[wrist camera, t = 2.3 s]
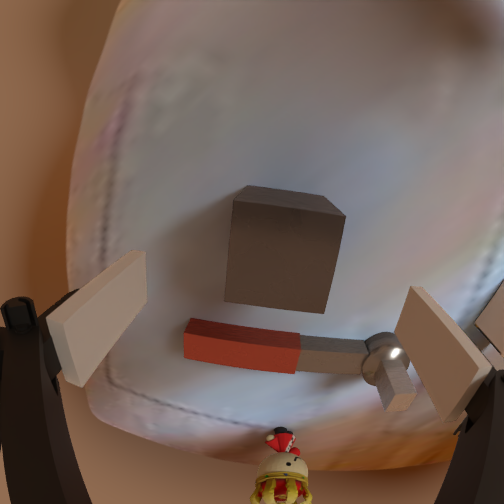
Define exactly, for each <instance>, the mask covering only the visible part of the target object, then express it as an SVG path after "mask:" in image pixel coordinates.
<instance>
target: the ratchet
mask: <svg viewBox="0 0 504 504" xmlns="http://www.w3.org/2000/svg"><path fill="white" fill-rule="evenodd" d="M184 358H187V359H192V360H197V361H203V362H208V363H214V364H220V365H226V366H232V367H239V368H246V369H253V370H261V371H269V372H278V373H288V374H295V371H305V372H318V373H336V374H360V373H361V371H362V374H363V377H364V380H365V381H366V382H367V383H368V384H370V385H373V386H376V387H377V390H378V393H379V396H380V399H381V402H382V405H383V408H384V411H385V412H392V411H404V410H407V408H408V407H409V405H410V404H411V402H412V401H413V399H414V398H415V396H416V394H417V392H416V389H415V387H414V385H413V383H412V381H411V379H410V377H409V375H408V373H407V371H406V370H407V369H408V367H409V363H410V359H409V357H408V355H407V354H406V352H405V350H404V348H403V347H402V345H401V343H400V341H399V340H398V338H397V336H396V335H395V334H394V333H391V332H382V333H378V334H375V335H373V336H371V337H370V338H368V339H367V340H366V341H365V342H364V340H354V339H340V338H327V337H316V336H305V335H300V333H292V332H284V331H275V330H267V329H259V328H252V327H245V326H238V325H231V324H225V323H218V322H212V321H206V320H200V319H195V318H191V319H190V321H189V323H188V325H187V327H186V329H185V331H184Z"/></svg>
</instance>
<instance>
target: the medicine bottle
mask: <svg viewBox="0 0 504 504" xmlns="http://www.w3.org/2000/svg"><path fill="white" fill-rule="evenodd" d="M474 324H475V326H476V327H477V328H478V329H479V330H480V331H481V332H482V334H483V335H484V336H485V337H486V338H487V339H488V340H489V342H490V343H491V344H492V345H493V346H494V347H495V349H496V350H497V351H498V352H499V353H500V355H501V356H502V357H503V358H504V281H503V283H502V284H501V286H500V287H499V289H498V290H497V292H496V293H495V295H494V296H493V298H492V299H491V300H490V302H489V303H488V305H487V306H486V307H485V309H484V310H483V312H482V313H481V314H480V316H479V317H478V318H477V320H476V321H475V323H474Z"/></svg>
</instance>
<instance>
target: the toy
mask: <svg viewBox="0 0 504 504" xmlns="http://www.w3.org/2000/svg"><path fill="white" fill-rule="evenodd" d="M274 431H275V434H276V435H274V436H273V435H268V436H267V437H266V440H267V441H266V442H265V443H266V444H268V445H269V446H270V447H271V448H273V449H274V450H275V451H277V452H278V453H275V454H272V455H270V456H268V457H267V458H265V459H264V460H263V461H262V463H261V464H260V466H259V468H258V472H257V479H256V484H255V487H256V489H255V491H254V493H253V494H252V495H251V497H250V501H251V504H259V503H260V501H261V499H262V496H263V499H264V501H265V502H266V503H267V504H297V502H296V499H297V497H299V496H300V495H301V494H303V497H304V499H305V501H304V502H302V503H301V504H311V500H312V495H311V493H310V492H309V490H308V488H307V486H308V478H307V477H308V468H307V466H306V463H305V462H304V461H303V460H302V459H301V458H300V457H299V455H300V450H299V449H298V448H296V447H293V448H291V447H292V445H293V443H294V441H295V440H296V439H295V436H293V433H292V432H290V431H287V429H286V428H284V427H277V428H276V429H274ZM255 495H256V496H255ZM277 501H285V502H284V503H276V502H277Z"/></svg>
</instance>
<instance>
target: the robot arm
mask: <svg viewBox="0 0 504 504" xmlns="http://www.w3.org/2000/svg"><path fill="white" fill-rule="evenodd" d="M146 303H147V286H146V252H143V251H136V250H131V251H130V252H128V253H127V254H125V255H124V256H123V257H121V258H120V259H119V260H117V261H116V262H115V263H113V264H112V265H111V266H109V267H108V268H107V269H105V270H104V271H103V272H101V273H100V274H99V275H98V276H96V277H95V278H94V279H92V280H91V281H90V282H89V283H87V284H86V285H85V286H83V287H82V288H81V289H76V290H74V291H72V292H69V293H67V294H66V295H65V296H64V297H62V298H61V300H59V301H57V302H56V303H55V305H52V306H51V307H50V308H49V309H47V310H46V311H45V312H44V313H43V314H42V315H40V316H39V317H38V318H37V315H36V311H35V307H34V303H33V300H32V299H30V298H28V297H16V298H12V299H10V300H8V301H6V302H5V303H4V304H3V305H2V306H1V308H0V309H1V313H2V316H3V319H4V322H5V326H6V327H0V450H1V444H2V450H3V460H4V468H5V475H6V481H7V487H8V492H9V496H10V501H11V504H92V502H91V499H90V497H89V494H88V492H87V489H86V486H85V484H84V481H83V478H82V475H81V472H80V470H79V466H78V463H77V460H76V457H75V453H74V450H73V446H72V443H71V439H70V435H69V432H68V427H67V423H66V418H65V414H64V409H63V404H62V398H61V393H60V387H59V382H58V379H57V376H56V375H57V374H58V373H59V372H60V370H61V369H62V372H63V375H64V377H65V380H66V381H67V382H69V383H72V384H74V385H76V386H79V387H81V388H82V387H83V386H84V385H85V383H86V382H87V381H88V379H89V378H90V376H91V375H92V374H93V372H94V371H95V370H96V368H97V367H98V365H99V364H100V363H101V361H102V360H103V359H104V357H105V356H106V355H107V353H108V352H109V351H110V349H111V348H112V347H113V345H114V344H115V343H116V341H117V340H118V339H119V338H120V336H121V335H122V334H123V332H124V331H125V330H126V329H127V327H128V326H129V325H130V323H131V322H132V321H133V320H134V318H135V317H136V316H137V314H138V313H139V312H140V311H141V309H142V308H143V307H144V306H145V304H146ZM394 333H395V335H396V336H397V338H398V340H399V341H400V343H401V345H402V347H403V348H404V350H405V352H406V354H407V355H408V357H409V359H410V361H411V362H412V364H413V366H414V368H415V370H416V372H417V373H418V375H419V377H420V379H421V381H422V383H423V385H424V387H425V388H426V390H427V392H428V394H429V396H430V398H431V400H432V402H433V404H434V406H435V408H436V410H437V412H438V414H439V416H440V418H441V420H442V422H443V423H446V422H451V421H456V420H457V419H458V418H459V416H460V415H461V414H462V412H463V411H464V409H465V411H466V412H467V414H468V415H467V416H466V418H465V419H464V420H463V422H462V423H461V424H460V425H459V427H458V428H457V429H456V430H455V432H454V433H453V435H456V433H457V432H458V431H460V434H459V435H458V437H459V438H458V441H457V445H456V448H455V451H454V454H453V457H452V460H451V463H450V466H449V469H448V472H447V474H446V477H445V479H444V482H443V484H442V487H441V489H440V491H439V494H438V496H437V498H436V500H435V503H434V504H504V370H498V371H496V369H495V368H494V367H493V365H492V364H491V363H490V362H489V360H488V359H487V358H486V357H485V356H484V354H482V352H481V351H480V349H479V348H477V346H476V345H475V344H474V342H473V341H472V340H471V339H469V338H468V336H467V335H466V334H465V333H464V332H463V331H462V329H461V328H460V327H459V326H458V325H457V324H456V323H455V322H454V320H453V319H452V318H451V317H450V316H449V315H448V314H447V313H446V312H445V311H444V310H443V308H442V307H441V306H440V305H439V304H438V303H437V302H436V301H435V300H434V299H433V298H432V297H431V296H430V295H429V294H428V293H427V292H426V291H425V290H424V289H423V288H422V287H415V286H410V289H409V292H408V295H407V298H406V301H405V304H404V307H403V309H402V312H401V315H400V318H399V320H398V323H397V326H396V328H395V331H394Z"/></svg>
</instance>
